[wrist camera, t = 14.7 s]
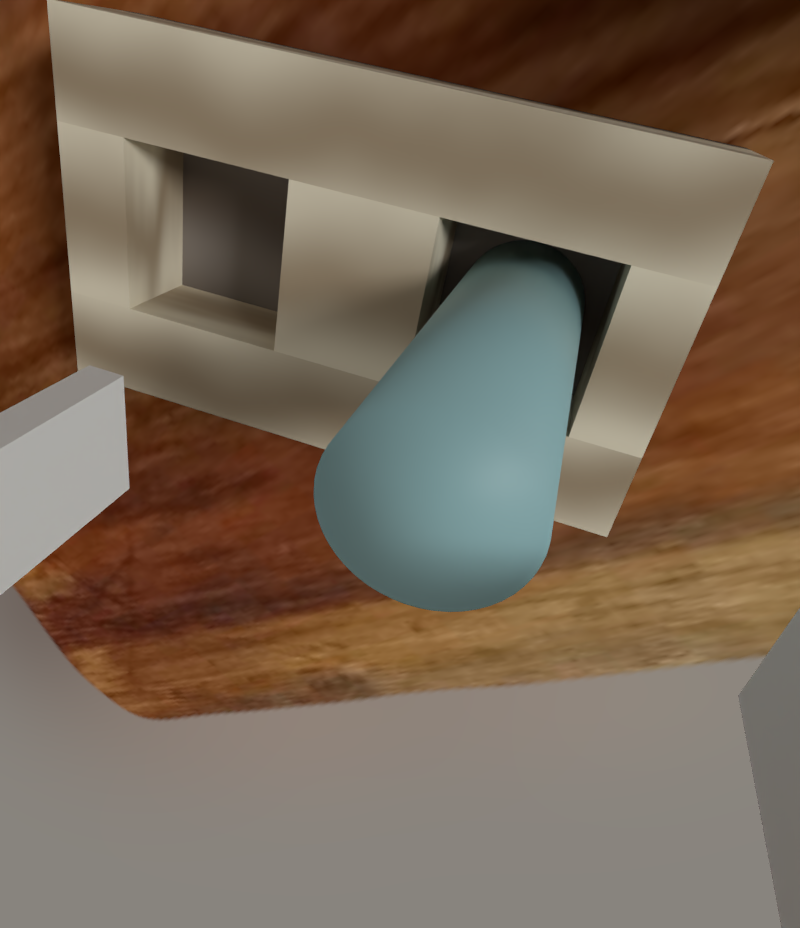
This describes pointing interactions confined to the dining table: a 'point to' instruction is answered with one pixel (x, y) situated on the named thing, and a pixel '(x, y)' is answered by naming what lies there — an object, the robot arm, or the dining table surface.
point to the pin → (462, 440)
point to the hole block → (366, 230)
